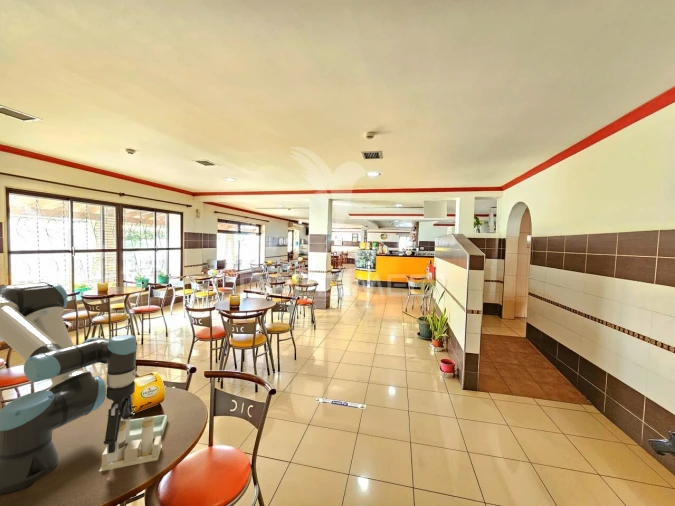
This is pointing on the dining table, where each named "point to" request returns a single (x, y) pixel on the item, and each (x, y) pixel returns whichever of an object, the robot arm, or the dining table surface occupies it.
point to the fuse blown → (121, 440)
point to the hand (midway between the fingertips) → (118, 448)
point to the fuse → (147, 436)
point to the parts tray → (137, 427)
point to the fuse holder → (132, 455)
